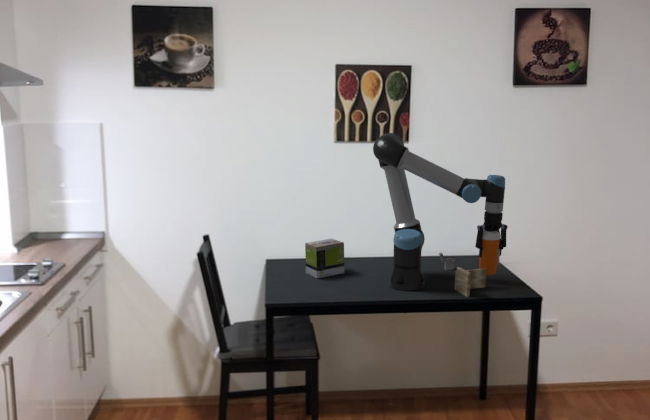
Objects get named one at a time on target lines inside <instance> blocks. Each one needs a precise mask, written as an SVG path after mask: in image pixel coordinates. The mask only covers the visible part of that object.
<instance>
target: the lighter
mask: <svg viewBox="0 0 650 420" xmlns="http://www.w3.org/2000/svg"><path fill="white" fill-rule="evenodd" d="M438 255H439V257H440V260H441V261H442V263H444V270H445V271H447V270H449V271H451V270H453V271H454V270H455V259H453V258H452V257H447V259H445V256H444V254H443V252H439V253H438Z"/></svg>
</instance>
